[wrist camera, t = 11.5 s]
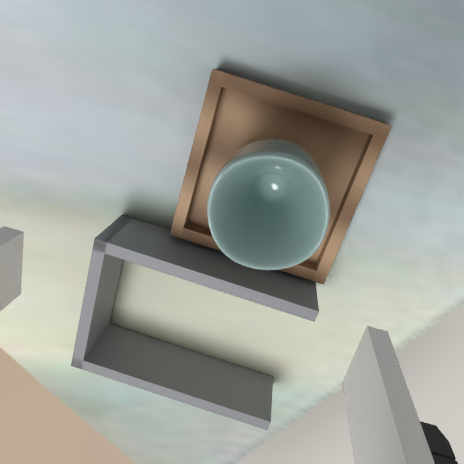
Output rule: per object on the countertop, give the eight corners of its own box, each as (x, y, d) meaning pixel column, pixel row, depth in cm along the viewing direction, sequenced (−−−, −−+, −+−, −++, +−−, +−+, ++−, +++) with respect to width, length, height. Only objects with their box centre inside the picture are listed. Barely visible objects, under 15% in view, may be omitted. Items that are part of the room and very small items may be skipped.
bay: (122, 214, 39) (94, 238, 34) (314, 277, 39) (318, 311, 34) (98, 328, 44) (71, 365, 39) (269, 384, 44) (266, 430, 38)
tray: (216, 69, 34) (212, 69, 32) (385, 123, 34) (391, 126, 32) (175, 226, 39) (169, 234, 37) (321, 274, 39) (323, 284, 37)
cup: (322, 129, 34) (334, 151, 25) (318, 222, 37) (328, 274, 27) (225, 131, 35) (201, 153, 26) (228, 221, 38) (208, 271, 28)
